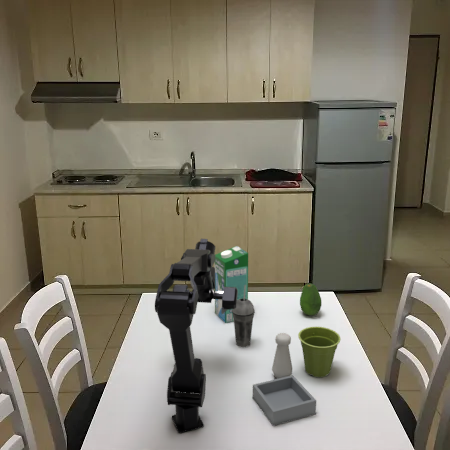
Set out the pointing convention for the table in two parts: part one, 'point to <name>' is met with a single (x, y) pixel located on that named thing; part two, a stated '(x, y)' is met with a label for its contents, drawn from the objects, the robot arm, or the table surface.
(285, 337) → the salt shaker
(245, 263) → the milk carton
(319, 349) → the plant pot
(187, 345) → the robot arm
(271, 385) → the box
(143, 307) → the table surface
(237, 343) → the beverage cup
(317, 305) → the avocado
